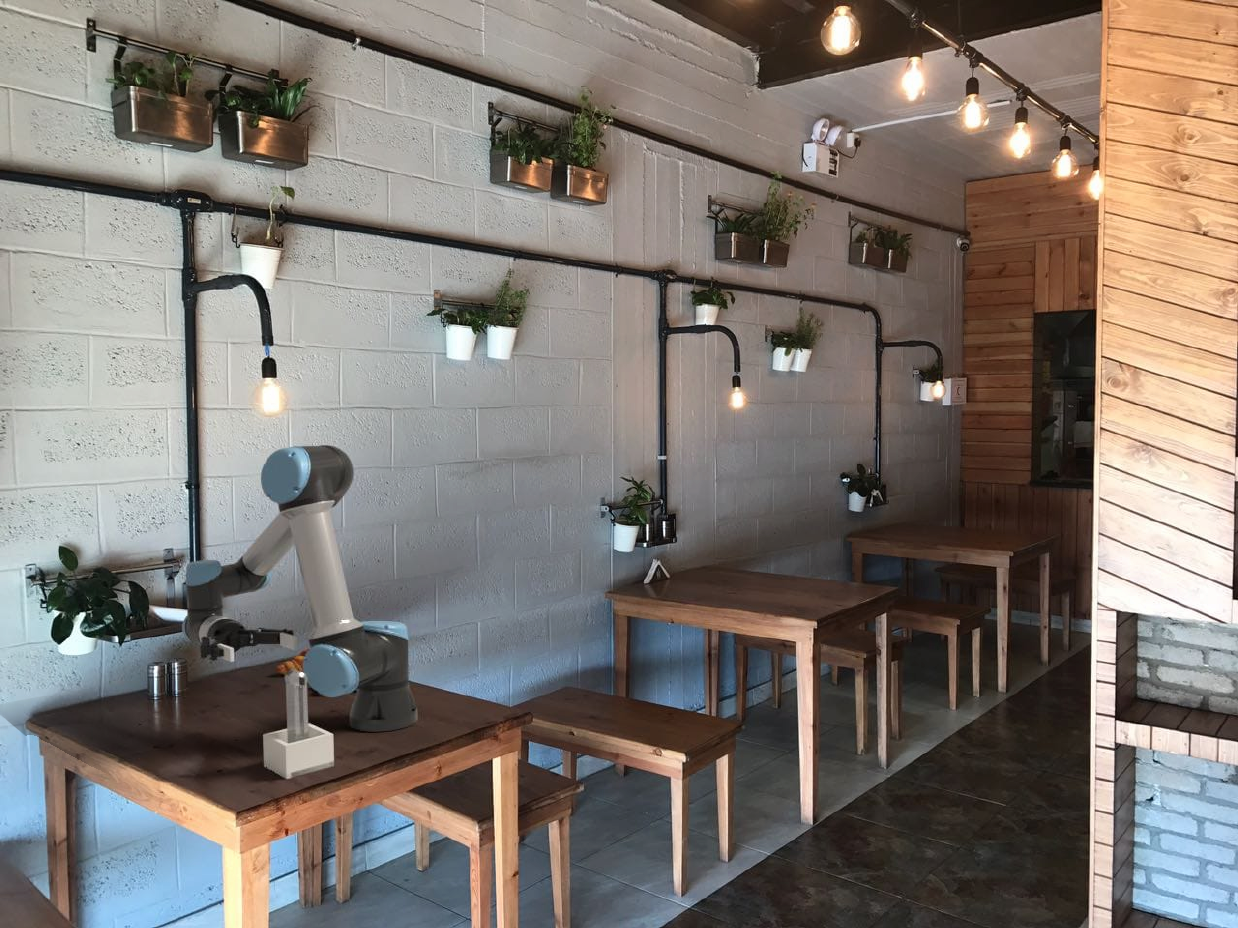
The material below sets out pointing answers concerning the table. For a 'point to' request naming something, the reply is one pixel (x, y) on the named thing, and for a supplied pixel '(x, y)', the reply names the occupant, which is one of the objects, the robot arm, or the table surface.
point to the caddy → (298, 752)
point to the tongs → (296, 706)
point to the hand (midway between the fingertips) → (264, 649)
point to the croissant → (293, 663)
